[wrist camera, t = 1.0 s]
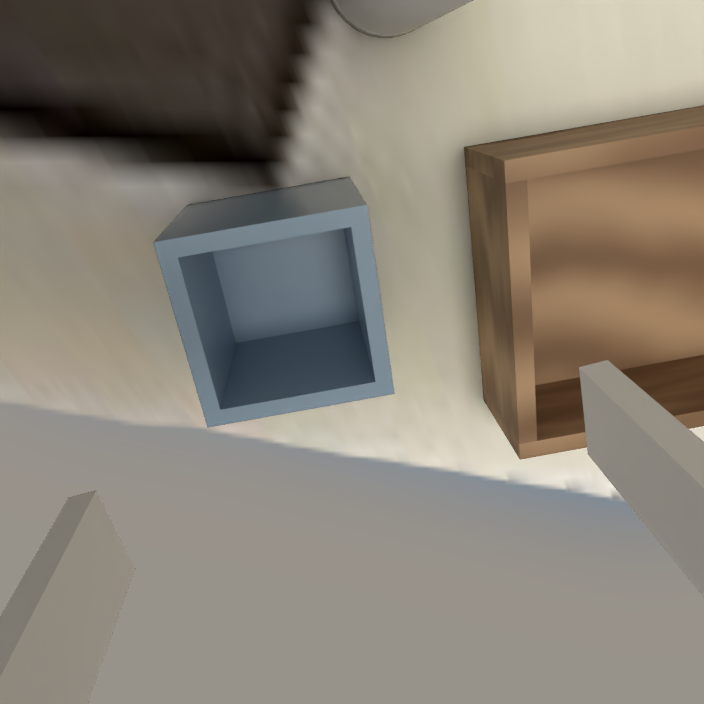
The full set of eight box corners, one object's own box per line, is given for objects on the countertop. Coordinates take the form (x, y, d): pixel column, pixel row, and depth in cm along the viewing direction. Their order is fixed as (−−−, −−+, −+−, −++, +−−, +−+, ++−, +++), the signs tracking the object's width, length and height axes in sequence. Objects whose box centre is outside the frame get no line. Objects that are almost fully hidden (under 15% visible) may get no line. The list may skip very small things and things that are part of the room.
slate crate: (188, 204, 33) (153, 242, 25) (349, 176, 34) (367, 204, 25) (226, 352, 37) (207, 427, 29) (372, 326, 37) (394, 393, 29)
